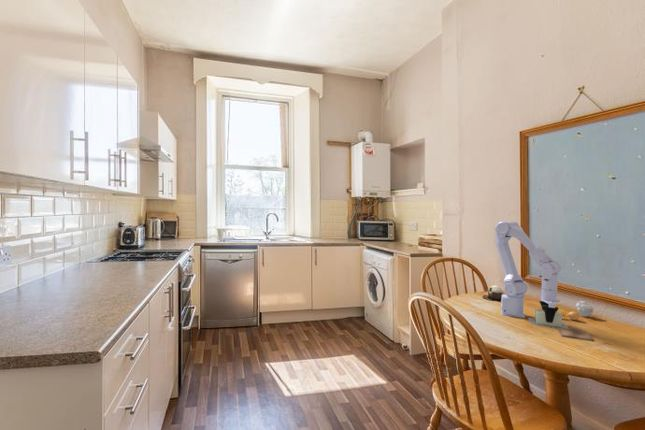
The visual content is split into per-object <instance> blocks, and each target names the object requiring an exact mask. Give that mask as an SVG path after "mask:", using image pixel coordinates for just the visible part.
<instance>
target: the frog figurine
mask: <svg viewBox="0 0 645 430" xmlns="http://www.w3.org/2000/svg"><path fill="white" fill-rule="evenodd" d="M575 308H576V310H577V313H578V314H579V316H581V317H583V318H589V317H590V316H592V313H594V308H593V307H592V306H591V305H590V304H588V303H587V302H586V301H583V300H582V301H581V300H580V301H578V302H576V303H575Z"/></svg>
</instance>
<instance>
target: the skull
mask: <svg viewBox="0 0 645 430" xmlns="http://www.w3.org/2000/svg"><path fill="white" fill-rule="evenodd" d="M502 295H504V290H503V289H502V288H501V287H500V286H498V285H491V286H490V287H489V289H487V293H486V294H484V295H482V298H483V299H484V300H487V301H490V302H501V298H502Z"/></svg>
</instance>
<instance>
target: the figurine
mask: <svg viewBox="0 0 645 430" xmlns="http://www.w3.org/2000/svg"><path fill="white" fill-rule="evenodd" d="M559 312H560V311H559ZM560 313H561V315H562V318H563V317H564V318H569V319H570V320H571V321H578V320H580V319H579V318H580V314H579V312H578V311H569V312H568V313H567V314H564V313H563V312H560Z"/></svg>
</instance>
